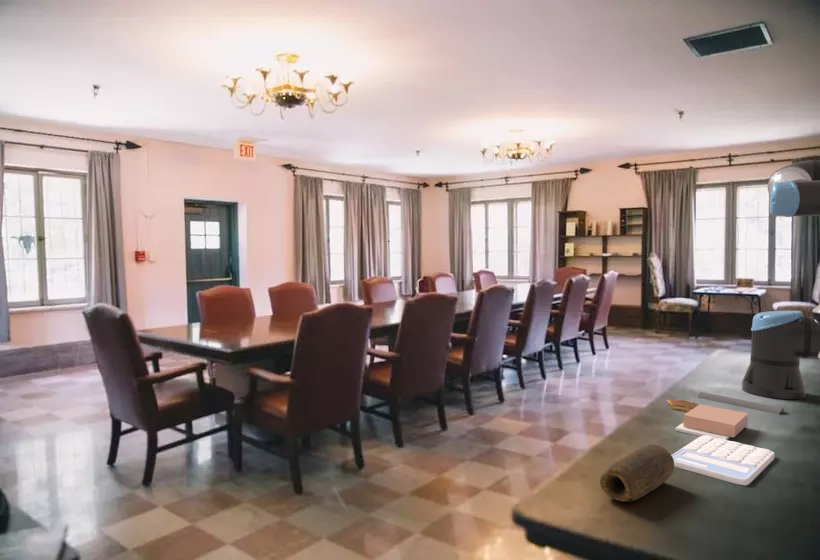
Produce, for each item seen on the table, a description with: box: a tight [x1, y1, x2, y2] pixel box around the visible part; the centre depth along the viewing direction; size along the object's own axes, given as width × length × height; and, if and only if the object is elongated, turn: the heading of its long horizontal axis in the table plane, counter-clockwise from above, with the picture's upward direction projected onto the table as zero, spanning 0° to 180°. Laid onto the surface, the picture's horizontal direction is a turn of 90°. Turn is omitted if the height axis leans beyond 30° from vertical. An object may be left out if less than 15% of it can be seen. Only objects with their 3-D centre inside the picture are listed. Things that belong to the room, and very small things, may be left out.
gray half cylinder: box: [697, 391, 785, 415], centre depth 143 cm, size 4×20×2 cm, turn 40°
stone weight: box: [599, 444, 675, 503], centre depth 89 cm, size 15×7×7 cm, turn 135°
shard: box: [666, 399, 699, 413], centre depth 136 cm, size 11×8×2 cm
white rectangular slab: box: [674, 422, 731, 441], centre depth 123 cm, size 16×10×1 cm, turn 137°
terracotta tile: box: [682, 404, 749, 438], centre depth 122 cm, size 12×3×10 cm
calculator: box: [670, 435, 776, 487], centre depth 104 cm, size 13×20×2 cm, turn 134°
